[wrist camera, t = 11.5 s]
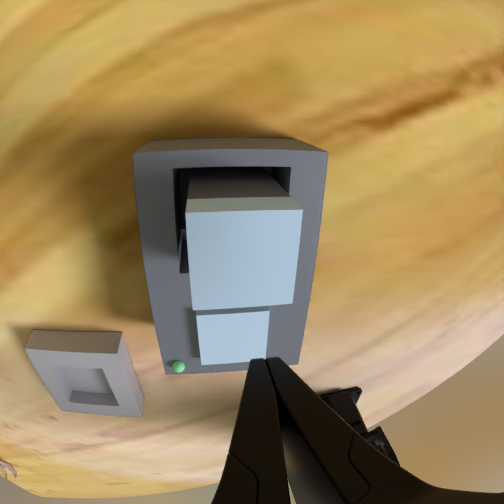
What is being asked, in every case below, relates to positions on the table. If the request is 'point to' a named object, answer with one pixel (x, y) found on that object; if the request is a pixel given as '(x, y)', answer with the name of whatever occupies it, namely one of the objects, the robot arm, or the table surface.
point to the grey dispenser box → (176, 252)
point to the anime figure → (8, 465)
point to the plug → (240, 238)
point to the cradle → (87, 371)
